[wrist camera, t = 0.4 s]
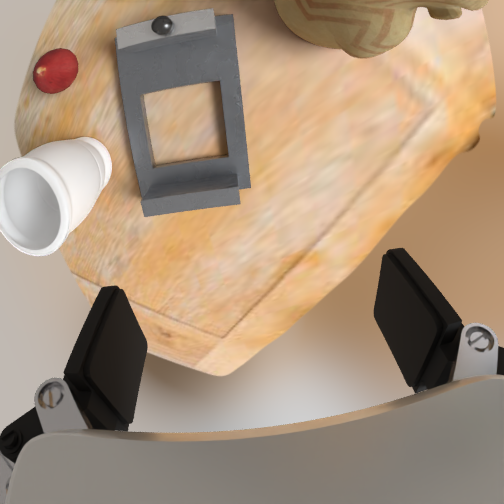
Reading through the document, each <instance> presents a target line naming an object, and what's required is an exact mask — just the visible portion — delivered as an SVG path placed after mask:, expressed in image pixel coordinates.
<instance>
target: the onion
mask: <svg viewBox="0 0 504 504" xmlns="http://www.w3.org/2000/svg"><path fill="white" fill-rule="evenodd" d="M77 73H78V61H77V58H76V56H75V55H74V54H73V53H72V52H71V51H70V50H68V49H62V48H59V49H55V50H51V51H49V52H47V53H46V54H44V55H43V56H42V57H41V58H40V59H39V60H38V62H37V63H36V65H35V68H34V71H33V81H34V82H35V84H36V86H37V88H39V89H40V90H41V91H42V92H45V93H50V94H54V93H58V92H61V91H63V90H65V89H66V88H68V87H69V86H70V85H71V84H72V83H73V81H74V80H75V78H76V76H77Z"/></svg>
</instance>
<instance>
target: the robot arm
mask: <svg viewBox="0 0 504 504" xmlns="http://www.w3.org/2000/svg"><path fill="white" fill-rule="evenodd" d="M374 318H375V320H376V322H377V324H378V326H379V328H380V330H381V332H382V334H383V336H384V337H385V340H386V342H387V344H388V346H389V347H390V350H391V351H392V354H393V356H394V358H395V360H396V362H397V364H398V366H399V368H400V370H401V372H402V374H403V376H404V379H405V381H406V383H407V385H408V386H409V387H413V390H414V392H415V393H417V394H414V395H411V396H407V397H404V398H401V399H398V400H394V401H391V402H387V403H384V404H380V405H377V406H373V407H370V408H366V409H362V410H358V411H354V412H349V413H345V414H341V415H336V416H331V417H327V418H321V419H316V420H311V421H306V422H299V423H293V424H287V425H280V426H273V427H264V428H255V429H245V430H234V431H219V432H198V433H152V432H151V433H149V432H126V431H128V427H129V424H130V423H132V422H133V418H134V413H135V406H136V402H137V396H138V391H139V386H140V381H141V376H142V372H143V367H144V362H145V357H146V353H147V341H146V338H145V336H144V334H143V332H142V330H141V328H140V326H139V324H138V321H137V319H136V317H135V315H134V313H133V310H132V308H131V306H130V304H129V301H128V299H127V297H126V294H125V292H124V290H123V289H119V287H118V286H107V287H102V288H101V290H100V292H99V294H98V296H97V298H96V300H95V302H94V304H93V306H92V308H91V310H90V312H89V314H88V317H87V319H86V321H85V323H84V325H83V328H82V330H81V332H80V334H79V336H78V339H77V341H76V343H75V346H74V348H73V350H72V353H71V355H70V358H69V360H68V363H67V365H66V368H65V370H64V374H65V375H64V378H63V380H62V379H61V378H51V379H49V380H46V381H45V382H44V383H42V384H41V385H40V387H39V388H38V389H37V391H36V393H35V398H34V401H35V407H34V408H33V409H31V410H30V411H28V412H27V413H25V414H24V415H23V416H21V417H20V418H18V419H17V420H16V421H14V422H13V423H11V424H10V425H8V426H7V427H6V428H5V429H4V430H3V431H2V433H1V435H0V504H504V348H502V347H499V346H498V339H497V337H496V334H495V333H494V332H493V331H492V329H490V328H489V327H488V326H486V325H483V324H480V323H470V324H468V325H466V326H465V327H464V325H463V324H462V323H461V322H462V320H461V318H460V317H459V316H458V314H457V313H456V312H455V310H454V309H453V308H452V306H451V305H450V304H449V302H448V301H447V300H446V299H445V297H444V296H443V295H442V293H441V292H440V291H439V290H438V289H437V287H436V286H435V285H434V283H433V282H432V281H431V280H430V279H429V278H428V276H427V275H426V274H425V273H424V271H423V270H422V269H421V268H420V267H419V265H418V264H417V263H416V262H415V261H414V260H413V258H412V257H411V256H410V255H409V254H408V253H407V252H406V251H405V249H403V248H397V249H390V250H388V251H387V253H386V254H384V255H383V257H382V264H381V270H380V277H379V283H378V289H377V295H376V301H375V306H374ZM424 390H426V391H424ZM421 391H423V392H421ZM419 392H420V393H419ZM115 430H118V431H115Z"/></svg>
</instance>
